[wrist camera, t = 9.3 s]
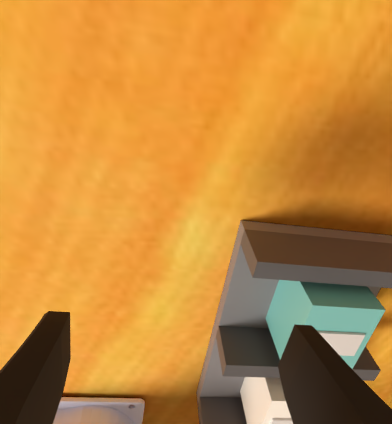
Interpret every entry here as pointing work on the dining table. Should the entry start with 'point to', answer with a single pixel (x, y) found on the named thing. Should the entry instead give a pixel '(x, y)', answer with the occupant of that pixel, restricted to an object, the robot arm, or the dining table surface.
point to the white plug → (264, 401)
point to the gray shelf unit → (262, 297)
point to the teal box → (325, 315)
